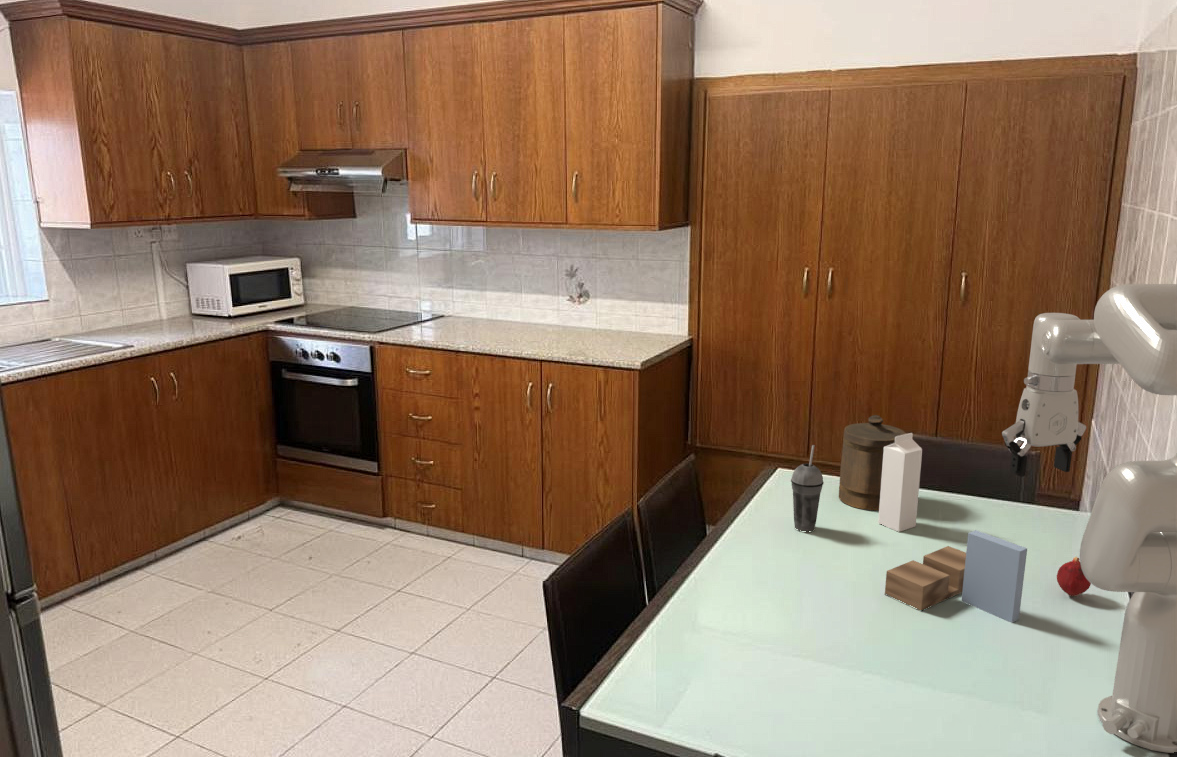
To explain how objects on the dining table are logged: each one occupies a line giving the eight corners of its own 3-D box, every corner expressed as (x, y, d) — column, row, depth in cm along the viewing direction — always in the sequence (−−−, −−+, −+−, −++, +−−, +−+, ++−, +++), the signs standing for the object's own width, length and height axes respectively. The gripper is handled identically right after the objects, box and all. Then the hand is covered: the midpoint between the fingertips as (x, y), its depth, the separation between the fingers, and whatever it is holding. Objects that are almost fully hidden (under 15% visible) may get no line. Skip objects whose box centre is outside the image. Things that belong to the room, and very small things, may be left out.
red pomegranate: (1093, 604, 162) (1098, 565, 160) (1060, 601, 163) (1065, 563, 161) (1082, 590, 168) (1087, 552, 166) (1050, 587, 169) (1055, 550, 167)
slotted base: (920, 611, 160) (923, 586, 159) (884, 594, 166) (886, 570, 165) (982, 582, 171) (984, 559, 170) (945, 568, 177) (948, 545, 176)
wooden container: (913, 506, 211) (920, 420, 206) (864, 514, 206) (870, 427, 201) (873, 486, 224) (879, 405, 219) (826, 494, 219) (831, 411, 214)
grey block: (1011, 622, 156) (1020, 551, 152) (961, 601, 164) (968, 533, 160) (1018, 619, 157) (1027, 548, 154) (968, 597, 165) (975, 530, 162)
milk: (877, 523, 200) (883, 433, 195) (895, 518, 203) (901, 429, 198) (899, 532, 195) (905, 440, 190) (916, 526, 198) (923, 435, 193)
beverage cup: (781, 525, 200) (785, 443, 195) (807, 520, 202) (811, 439, 198) (802, 537, 193) (806, 452, 188) (827, 531, 196) (832, 448, 191)
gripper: (1025, 390, 149) (1014, 483, 152) (1106, 383, 153) (1094, 474, 157) (994, 380, 156) (985, 469, 160) (1073, 374, 160) (1062, 461, 164)
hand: (1039, 472), depth 158 cm, fingers open, 9 cm apart
